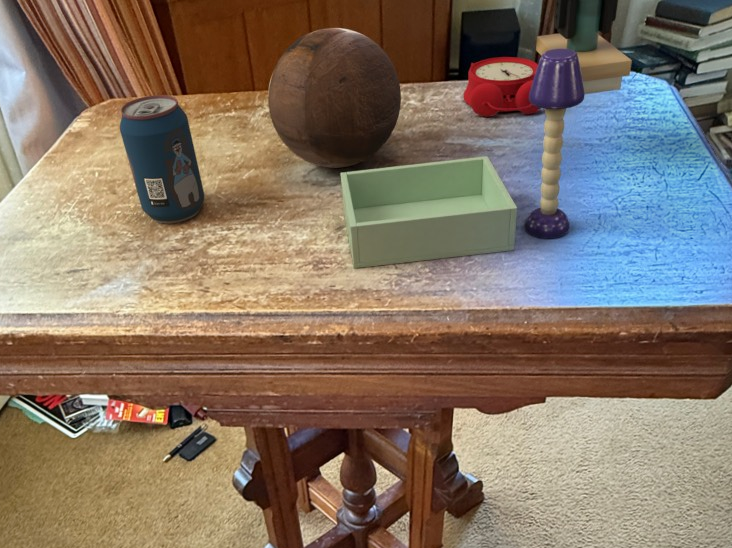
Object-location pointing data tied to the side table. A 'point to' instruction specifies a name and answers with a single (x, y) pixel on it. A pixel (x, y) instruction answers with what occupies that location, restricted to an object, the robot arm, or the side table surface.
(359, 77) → the wooden sphere
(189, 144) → the soda can
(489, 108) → the alarm clock
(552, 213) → the toy lamp
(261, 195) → the side table surface
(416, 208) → the tub
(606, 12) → the robot arm
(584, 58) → the brush
